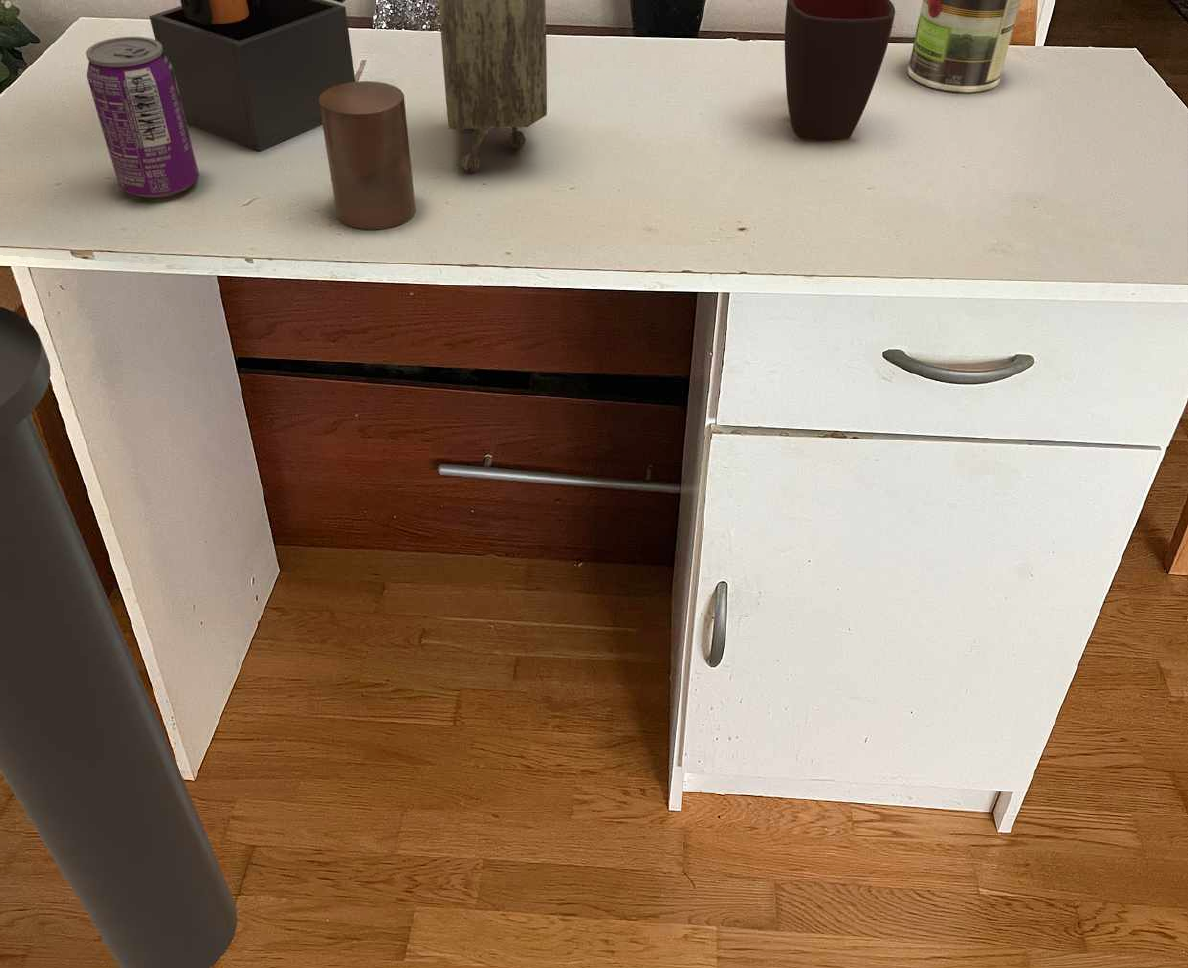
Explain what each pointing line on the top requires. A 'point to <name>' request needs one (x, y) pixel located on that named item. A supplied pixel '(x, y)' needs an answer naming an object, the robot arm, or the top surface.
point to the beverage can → (141, 116)
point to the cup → (833, 62)
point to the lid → (339, 1)
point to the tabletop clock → (493, 67)
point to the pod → (228, 11)
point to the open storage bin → (258, 68)
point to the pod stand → (368, 154)
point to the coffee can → (962, 43)
